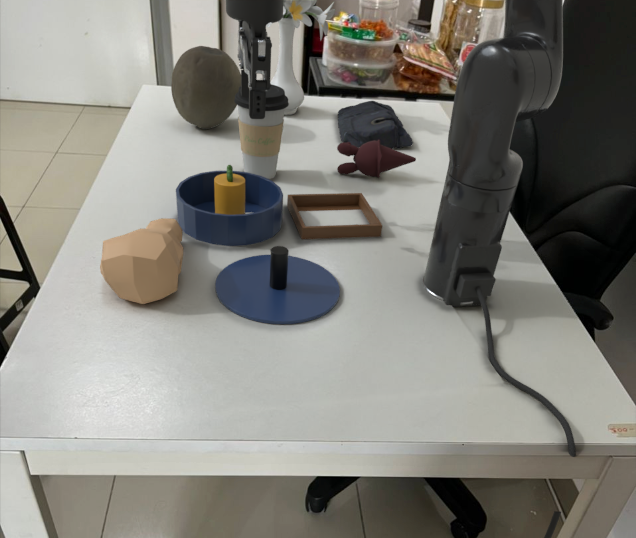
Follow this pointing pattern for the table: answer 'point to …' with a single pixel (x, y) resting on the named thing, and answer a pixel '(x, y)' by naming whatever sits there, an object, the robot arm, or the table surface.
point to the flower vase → (293, 13)
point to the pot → (229, 229)
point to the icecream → (371, 158)
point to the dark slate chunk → (372, 125)
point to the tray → (333, 203)
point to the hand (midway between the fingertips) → (252, 107)
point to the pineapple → (229, 193)
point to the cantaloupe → (205, 86)
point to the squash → (144, 261)
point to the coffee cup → (262, 132)
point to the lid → (277, 288)
